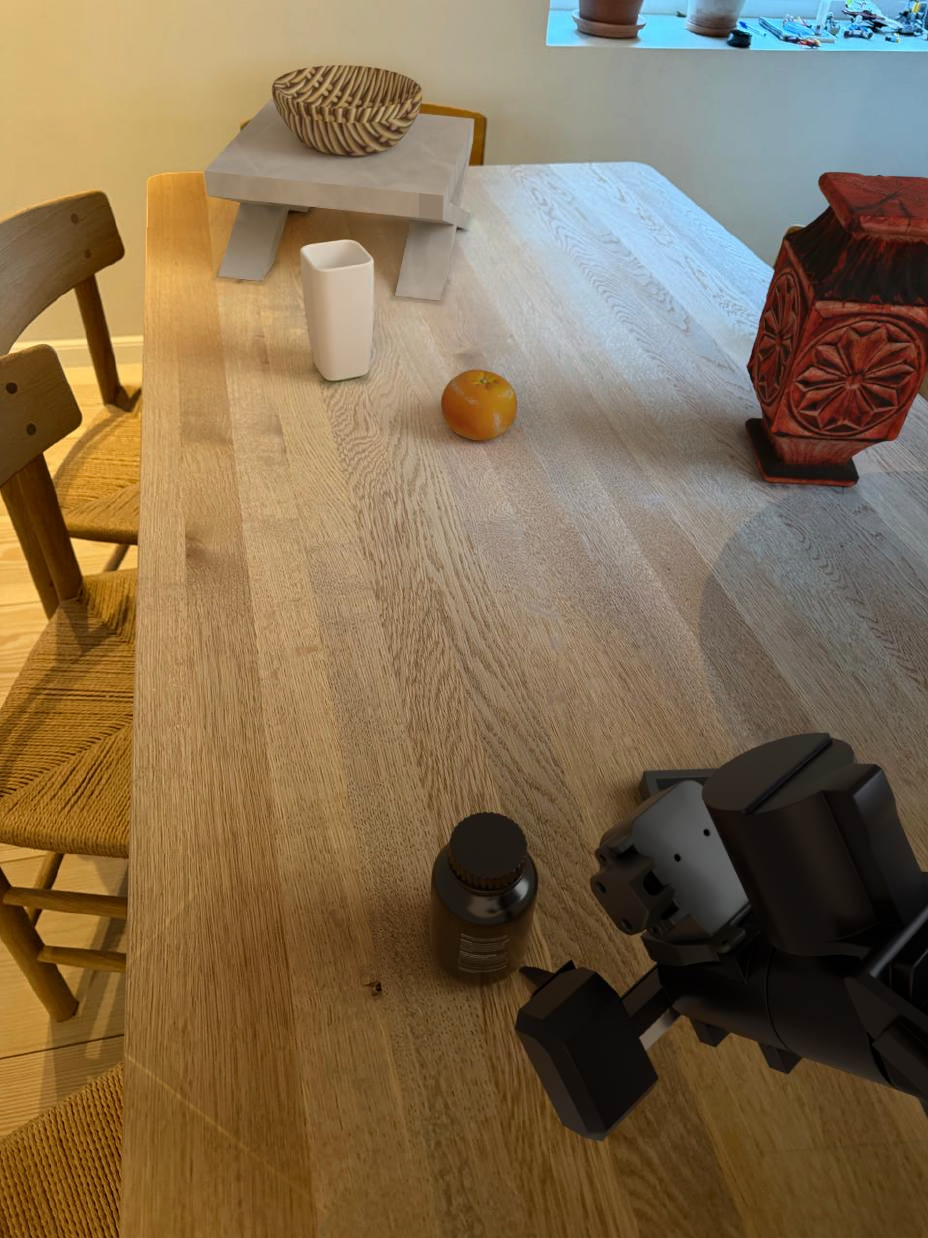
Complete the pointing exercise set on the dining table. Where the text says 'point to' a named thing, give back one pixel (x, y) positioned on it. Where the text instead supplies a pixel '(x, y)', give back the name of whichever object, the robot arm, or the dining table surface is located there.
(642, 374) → the dining table surface
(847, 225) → the vase
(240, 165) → the grey stand with bowl
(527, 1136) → the dining table surface
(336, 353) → the cup
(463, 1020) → the dining table surface
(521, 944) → the supplement bottle
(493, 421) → the fruit
